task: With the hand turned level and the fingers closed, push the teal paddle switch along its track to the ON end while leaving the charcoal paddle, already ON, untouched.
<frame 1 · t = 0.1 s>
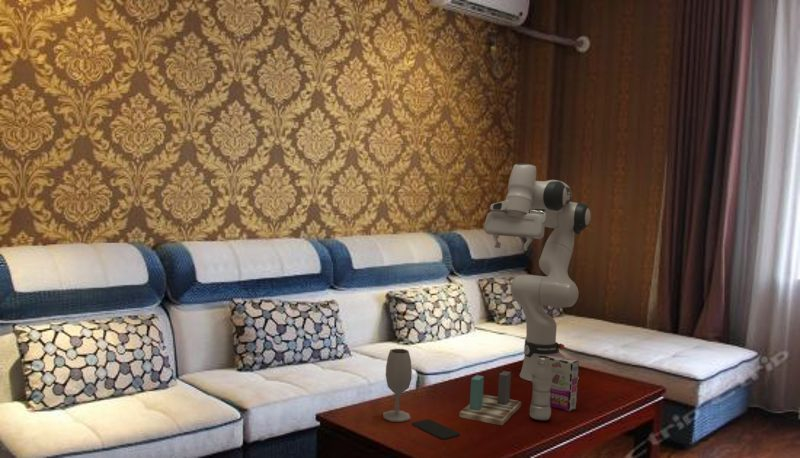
hand: (510, 249, 231), 52 cm above the table, tool tilted 20°, fingers open, 8 cm apart
teal paddle: (476, 393, 222), point 7 cm above the table, slide at 0.0 cm
charcoal paddle: (504, 388, 229), point 7 cm above the table, slide at 6.0 cm
switch panel: (491, 411, 226), on the table
wineglass: (396, 418, 216), on the table
candy bar box: (557, 406, 234), on the table
plastic bottle: (539, 420, 221), on the table
phone: (435, 431, 208), on the table
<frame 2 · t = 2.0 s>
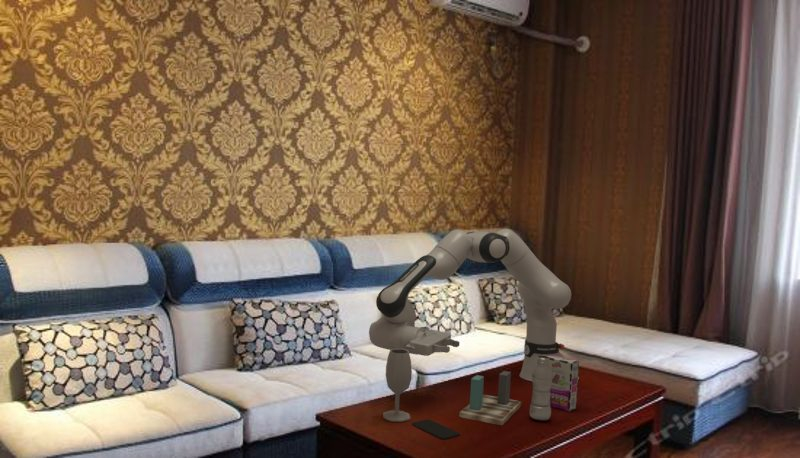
hand: (453, 347, 225), 20 cm above the table, tool horizontal, fingers open, 7 cm apart
nothing on the table moved.
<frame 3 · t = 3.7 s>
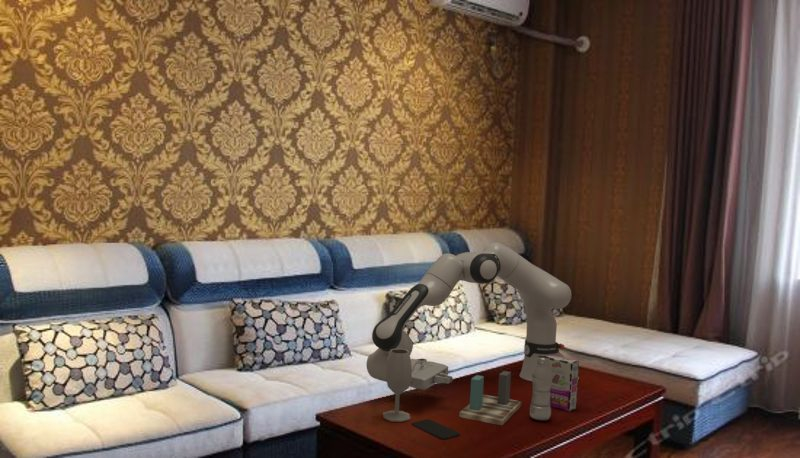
hand: (450, 380, 226), 10 cm above the table, tool horizontal, fingers closed
nothing on the table moved.
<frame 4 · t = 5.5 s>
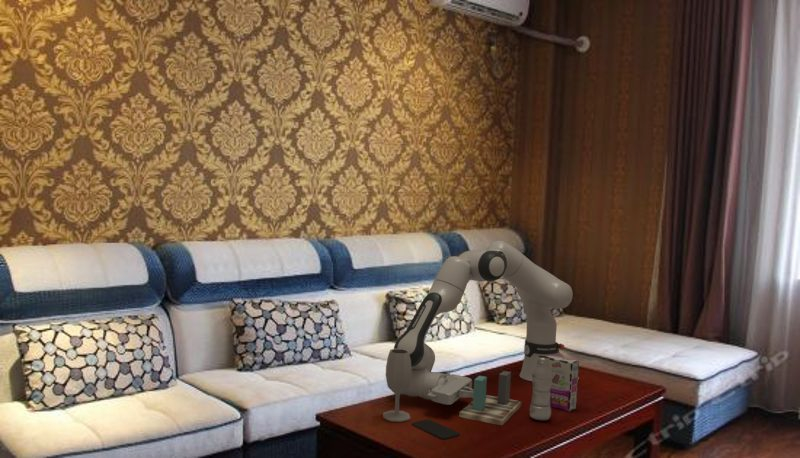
hand: (475, 394, 223), 6 cm above the table, tool horizontal, fingers closed, pressing on teal paddle
teal paddle: (479, 393, 222), point 7 cm above the table, slide at 1.0 cm, touching gripper
everything else where it was.
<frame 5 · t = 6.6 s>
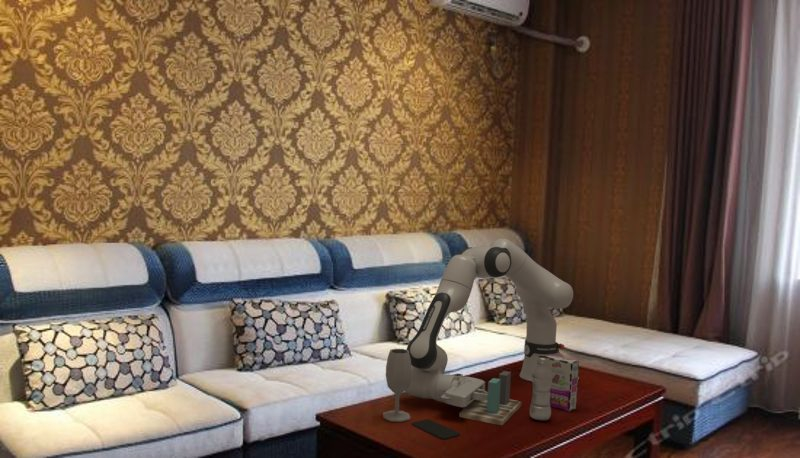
hand: (489, 396, 221), 6 cm above the table, tool horizontal, fingers closed, pressing on teal paddle
teal paddle: (493, 396, 220), point 7 cm above the table, slide at 5.6 cm, touching gripper
everything else where it was.
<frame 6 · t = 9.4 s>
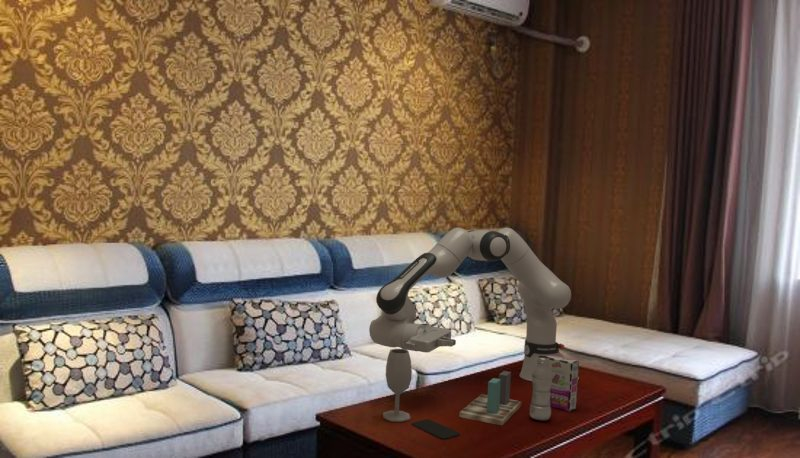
hand: (454, 343, 225), 22 cm above the table, tool horizontal, fingers closed
teal paddle: (493, 396, 220), point 7 cm above the table, slide at 5.6 cm
everything else where it was.
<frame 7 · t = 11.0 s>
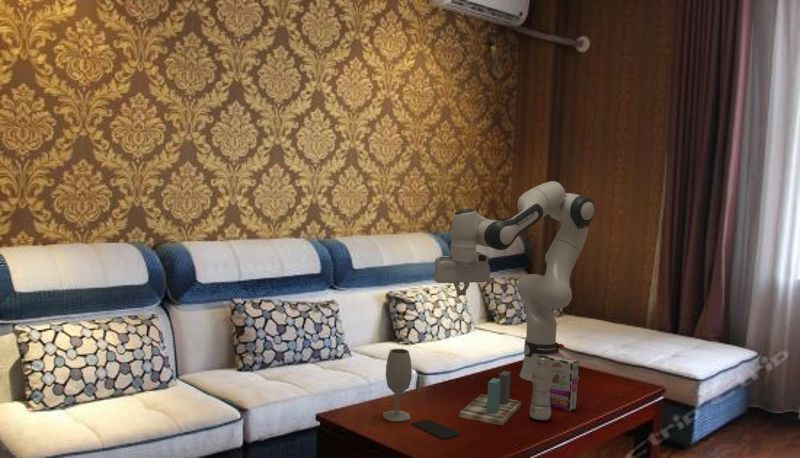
hand: (461, 295, 244), 34 cm above the table, tool pointing down, fingers closed
nothing on the table moved.
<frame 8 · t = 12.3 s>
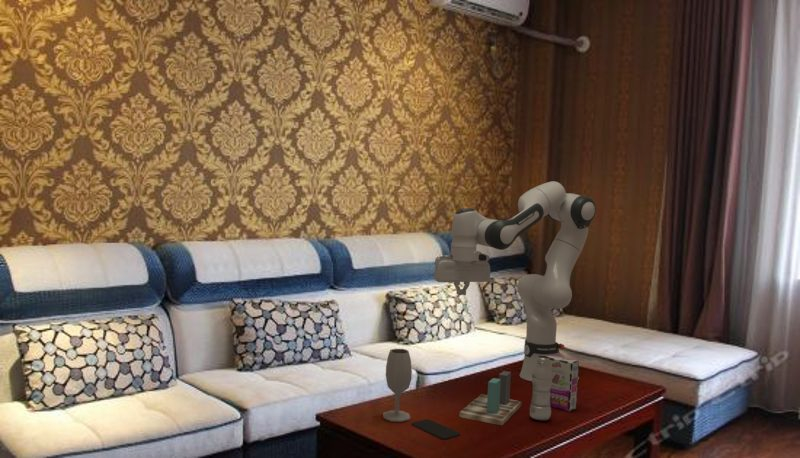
hand: (461, 294, 244), 34 cm above the table, tool pointing down, fingers closed
nothing on the table moved.
at the end: teal paddle slide at 5.6 cm; charcoal paddle slide at 6.0 cm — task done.
